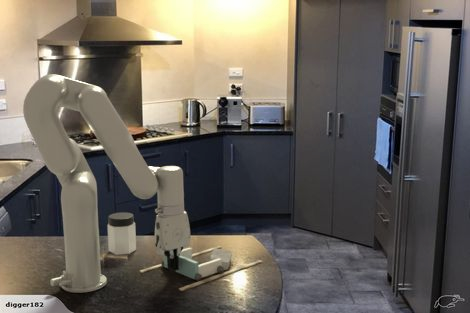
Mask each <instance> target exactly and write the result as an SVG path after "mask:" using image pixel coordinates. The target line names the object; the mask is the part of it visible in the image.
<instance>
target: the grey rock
mask: <svg viewBox="0 0 470 313" xmlns="http://www.w3.org/2000/svg"><path fill="white" fill-rule="evenodd" d="M213 248H214V247H213ZM232 255H233V252H232V251H229V250H224V249H222V248H220V249H217V248H214V250H213V251H211V254H210V258H209V261H212V260H215V259H218V258H220V259H222V267H223V268H224V271H229V267H230V264H231V260H232Z"/></svg>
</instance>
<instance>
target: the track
mask: <svg viewBox="0 0 470 313" xmlns="http://www.w3.org/2000/svg"><path fill="white" fill-rule="evenodd" d="M214 248H217V249H222V246H220V245H218V246H215V247H211V248H208V249H205V250H202V251H198V252H195V253H192V258H193V257H194V258H195V257H197V256H201V255H203V254H206V253H210V252H213V250H214ZM260 263H263V260H260V259H259V260H256V261H253V262H251V263H248V264H245V265H242V266H239V267H236V268H234V269H231V270H226V271H223V272H222V273H218V274H216V275H213V276H210V277H208V278H205V279H201V280H200V281H196V282H193V283H191V284H187V285H184V286H182V287H180V288H178V290H179V291H180V292H182V291H186V290H189V289H191V288H194V287H197V286H200V285H202V284H205V283H209V282H211V281H214V280H217V279H219V278H222V277H225V276H228V275H230V274H233V273H236V272H238V271H243V270H245V269H247V268H250V267H253V266H255V265H258V264H260ZM159 268H163V266H162V265H161V263H160V264H157V265H153V266H150V267H146V268H144V269H140V270H139V272H140V273H141V274H143V273H147V272H149V271H152V270H155V269H159Z"/></svg>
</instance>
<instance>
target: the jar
mask: <svg viewBox="0 0 470 313" xmlns="http://www.w3.org/2000/svg"><path fill="white" fill-rule="evenodd" d="M107 244H108V245H107V246H108V252H110V253H111V254H113V255H115V256H117V255H119V256H120V255H130V254H132V253H133V252H135V251H136V250H137V237H136V222H135V216H134V214H133V213H131V212H115V213H112V214H109V215H108V224H107Z"/></svg>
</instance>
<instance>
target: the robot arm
mask: <svg viewBox="0 0 470 313" xmlns="http://www.w3.org/2000/svg"><path fill="white" fill-rule="evenodd" d="M22 106H23V109H22V113H23V117H24V120H25V124H26V126H27V128H28V131H29V132H30V134H31V137H32V138H33V141H34V143H35V145H36V147H37V149H38V151H39V153H40V155H41V157H42V158H43V159H42V160H43V161H44V164H45V166H46V168H47V169H48V170H49V171H50V173H52V174H53V175H55V176H56V178H57V179H58V180H57V181H58V182H59V183H60V185H61V193H60V204H61V213H62V225H63V227H62V228H63V236H64V237H63V239H64V256H65V270H63V271H62V274H61V275H60V276H58V277H54V278H51V279H50V281H49V282H50V286H52V287H53V286H57V285H59V286H60V287H61V289H63V290H64V291H66V292H69V293H78V294H79V293H81V294H82V293H89V292H94V291H97V290H99V289H100V290H101V289H102V288H103V287H105V286H106V285H107V283H108V279H107V276H105V275H104V274H102V270H101V267H102V266H101V250H100V249H101V248H100V229H99V228H100V227H99V213H98V212H99V210H98V187H97V185H98V184H97V180H96V178H95V176H94V173H93V172H92V169H91V168H90V166H89V164H88V162H87V160H86V157H85V156H84V154H83V152H82V149H81V148H80V146H79V145H78V143H77V142H76V141H75V140H74V139H73V138H70V137H69V136H68V132H67V131H66V129H65V127H64V125H63V123H62V121H61V119H60V117H59V114H58V107H61V108H65V109H68V110H72V111H76V112H79V113H80V116H82V118H83V119H84V121H85V122H86V124H87V125H88V126H89V128H90V130H91V131H92V133H93V134H94V136H95V138H96V139H97V140H98V142H99V144H100V145H101V147H102V149H103V151H104V152H105V153H106V155H107V157H108V158H109V159H110V160H111V161H112V162H111V163H113V165H114V167H115V168H116V170H117V171H118V173H119V174H120V176H121V177H122V180H123V181H124V182H125V184H126V185H127V188H129V190H130V192H131V193H132V194H133V196H135V197H136V198H138V199H140V200H141V199H142V200H148V199H151V198H152V197H154V196H155V195H156V194H157V196H156V197H157V208H155V209H154V212H155V214H157V215H156V216H155V225H154V245H155V248H156V254H157V255H160V256H161V255H163V256H164V255H165V256H166V257H167V266H168V268H167V269H168V270H170V271H171V272H176V270H179V256H180V254H181V251H182V250H183V249H186V248H188V246H189V244H190V243H191V242H192V241H191V228H190V227H191V225H190V222H189V216H188V213H187V211H186V210H185V200H184V199H185V192H184V171H183V169H182V168H181V167H180V166H176V165H165V166H161V167H159V166H150V165H149V166H148V164H147V162H146V161H145V159H144V158H143V155H142V154H141V153H140V151H139V149H138V147H137V145H136V142H135V140H134V138H133V136H132V134H131V132H130V130H129V129H128V127H127V126H126V124H125V123H124V121H123V120H122V117H121V116H120V114H119V113H118V111H117V109H116V108H115V107H114V105H113V104H112V102H111V100H110V98H109V97H108V95H107V92H105V90H104V89H103V88H102V87H100V86H97V85H94V84H90V83H87V82H83V81H81V80H80V81H79V80H75V79H72V78H69V77H66V76H63V75H59V74H54V73H52V74H51V73H49V74H44V75H43V76H41V77H40V78H38V79H37V80H35V82H34V83H33V85H32V86H31V87H30V88H29V90H28V91H27V93H26V95H25V98H24V100H23V105H22Z"/></svg>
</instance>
